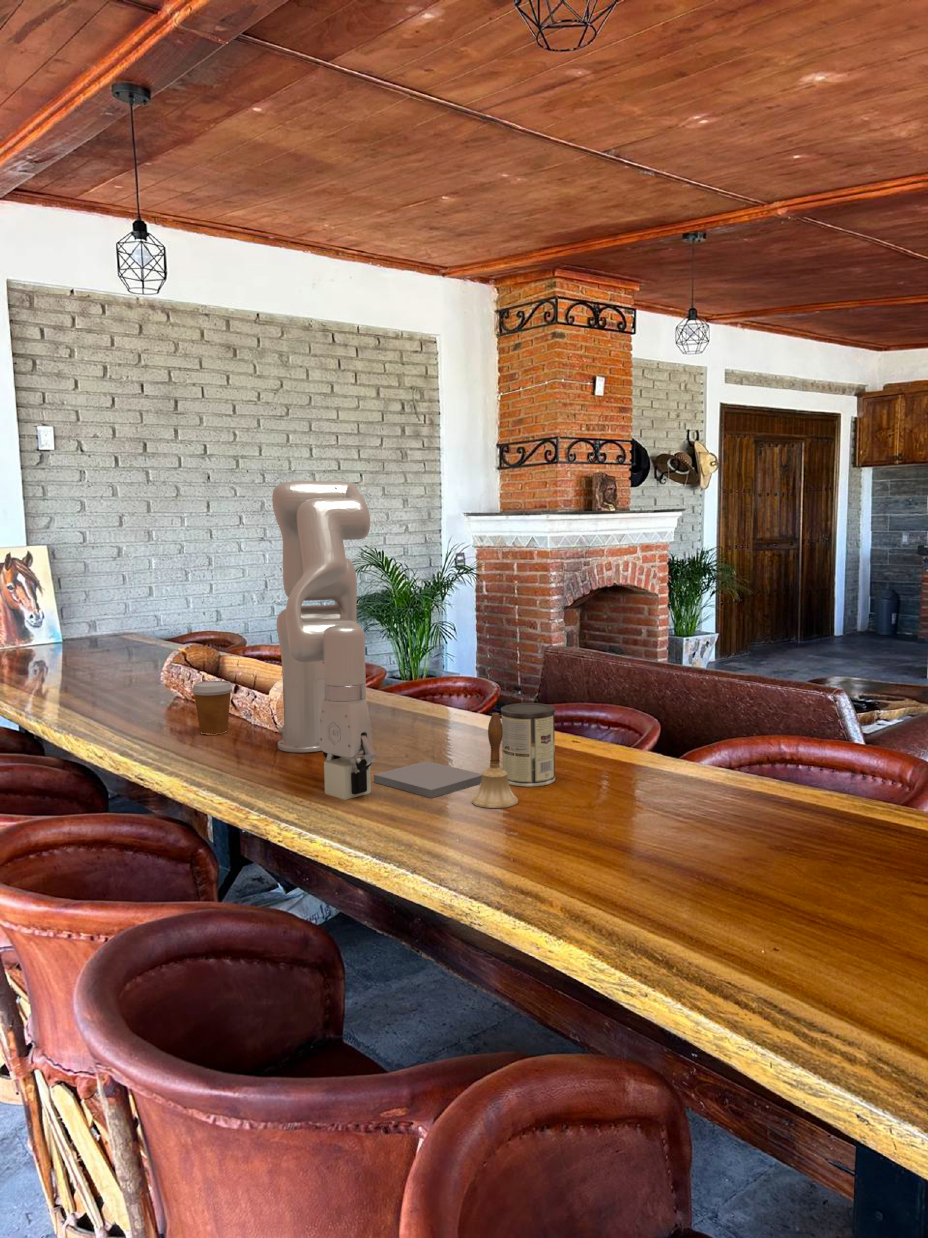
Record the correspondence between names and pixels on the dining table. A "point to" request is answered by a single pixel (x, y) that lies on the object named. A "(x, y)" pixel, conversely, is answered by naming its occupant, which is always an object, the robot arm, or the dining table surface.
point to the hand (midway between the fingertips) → (347, 788)
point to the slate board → (428, 779)
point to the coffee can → (528, 744)
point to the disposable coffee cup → (212, 705)
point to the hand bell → (495, 774)
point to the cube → (341, 778)
